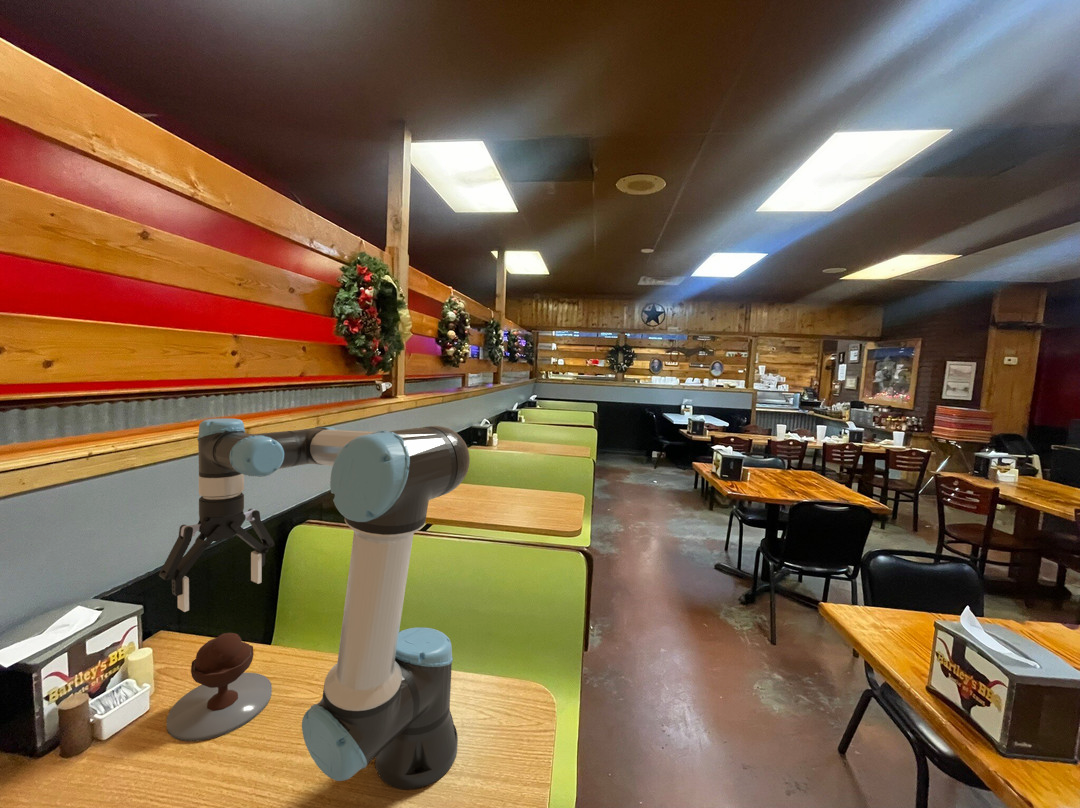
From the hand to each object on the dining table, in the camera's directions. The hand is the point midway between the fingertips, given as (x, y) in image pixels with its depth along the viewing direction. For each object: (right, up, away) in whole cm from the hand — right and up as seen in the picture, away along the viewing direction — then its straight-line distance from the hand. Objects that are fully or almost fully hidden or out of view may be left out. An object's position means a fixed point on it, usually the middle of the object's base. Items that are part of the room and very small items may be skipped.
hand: (222, 594), depth 92 cm
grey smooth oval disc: (-1, -24, +2) cm, 25 cm away
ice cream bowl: (-1, -24, +2) cm, 24 cm away
